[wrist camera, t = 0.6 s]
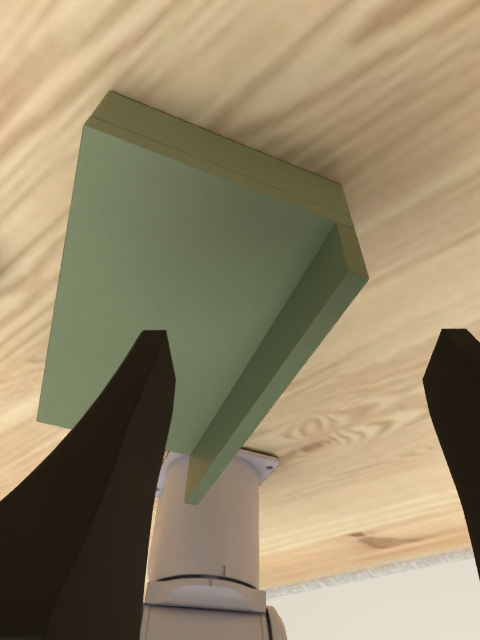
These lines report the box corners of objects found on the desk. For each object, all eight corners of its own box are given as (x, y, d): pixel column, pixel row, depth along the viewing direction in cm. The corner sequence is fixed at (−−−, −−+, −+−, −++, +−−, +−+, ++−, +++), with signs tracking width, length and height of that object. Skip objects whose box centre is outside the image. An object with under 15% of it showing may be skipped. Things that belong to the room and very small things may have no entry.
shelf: (205, 412, 31) (197, 506, 26) (55, 374, 29) (15, 470, 24) (342, 184, 19) (370, 278, 15) (108, 89, 17) (52, 165, 12)
